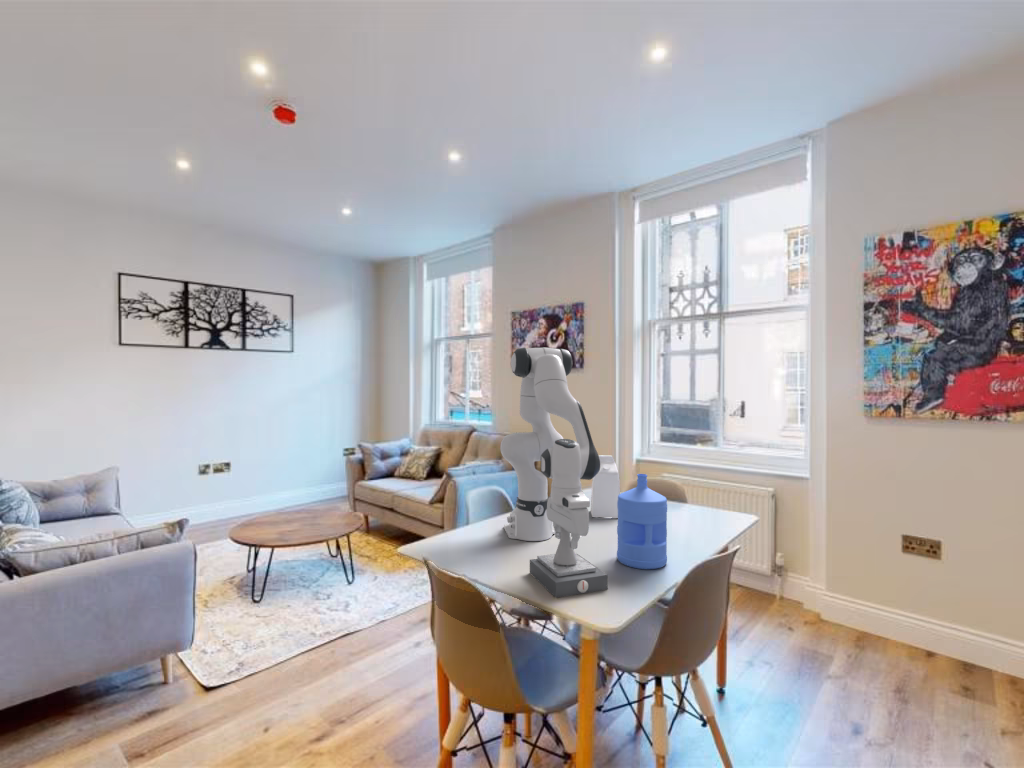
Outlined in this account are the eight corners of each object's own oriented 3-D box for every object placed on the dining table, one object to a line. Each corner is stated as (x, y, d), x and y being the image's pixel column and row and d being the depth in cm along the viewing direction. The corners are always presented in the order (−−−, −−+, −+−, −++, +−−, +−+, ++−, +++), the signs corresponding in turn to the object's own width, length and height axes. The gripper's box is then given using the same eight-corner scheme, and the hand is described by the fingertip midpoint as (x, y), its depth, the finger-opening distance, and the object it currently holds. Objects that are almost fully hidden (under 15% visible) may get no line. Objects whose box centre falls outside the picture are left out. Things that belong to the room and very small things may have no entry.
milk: (617, 511, 218) (617, 454, 218) (620, 518, 206) (621, 457, 206) (590, 510, 219) (590, 453, 219) (592, 517, 207) (592, 457, 207)
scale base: (529, 572, 146) (529, 559, 146) (576, 566, 151) (576, 553, 151) (556, 598, 128) (556, 583, 128) (608, 590, 134) (609, 575, 134)
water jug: (611, 553, 163) (611, 470, 164) (656, 552, 164) (657, 470, 165) (624, 570, 148) (625, 479, 148) (674, 570, 149) (675, 479, 149)
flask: (575, 557, 145) (575, 524, 145) (579, 566, 137) (580, 531, 137) (551, 557, 144) (551, 524, 144) (554, 566, 137) (554, 531, 137)
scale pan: (537, 559, 145) (537, 556, 145) (572, 554, 150) (572, 551, 150) (557, 576, 132) (557, 573, 132) (595, 571, 136) (595, 567, 136)
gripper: (541, 489, 150) (541, 533, 150) (572, 504, 130) (572, 555, 130) (560, 487, 152) (559, 531, 152) (593, 502, 133) (592, 553, 133)
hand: (565, 543), depth 141 cm, fingers open, 8 cm apart
